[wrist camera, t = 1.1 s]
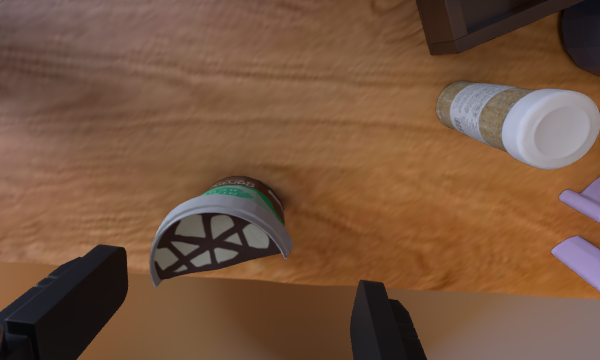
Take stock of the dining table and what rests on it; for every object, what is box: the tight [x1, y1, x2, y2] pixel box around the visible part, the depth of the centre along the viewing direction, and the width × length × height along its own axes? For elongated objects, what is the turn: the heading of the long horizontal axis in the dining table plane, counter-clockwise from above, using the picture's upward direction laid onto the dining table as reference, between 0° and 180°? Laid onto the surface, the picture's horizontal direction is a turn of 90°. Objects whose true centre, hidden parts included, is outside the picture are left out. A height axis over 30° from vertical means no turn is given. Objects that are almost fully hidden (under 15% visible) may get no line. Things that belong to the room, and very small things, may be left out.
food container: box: [149, 176, 294, 288], centre depth 30 cm, size 12×6×10 cm, turn 105°
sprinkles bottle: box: [436, 81, 600, 169], centre depth 24 cm, size 5×5×14 cm
